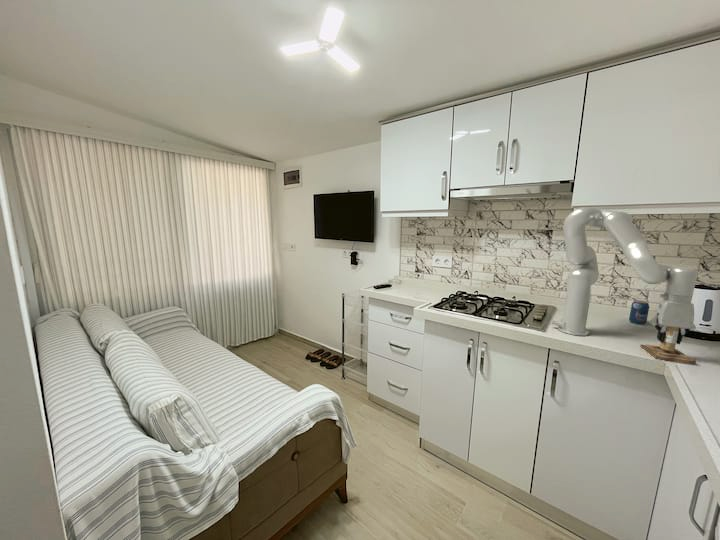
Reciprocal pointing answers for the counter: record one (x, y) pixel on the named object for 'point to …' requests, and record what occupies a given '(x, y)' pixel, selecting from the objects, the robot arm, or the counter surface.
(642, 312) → the soda can
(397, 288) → the counter surface
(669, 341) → the sprinkles bottle
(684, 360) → the plinth
